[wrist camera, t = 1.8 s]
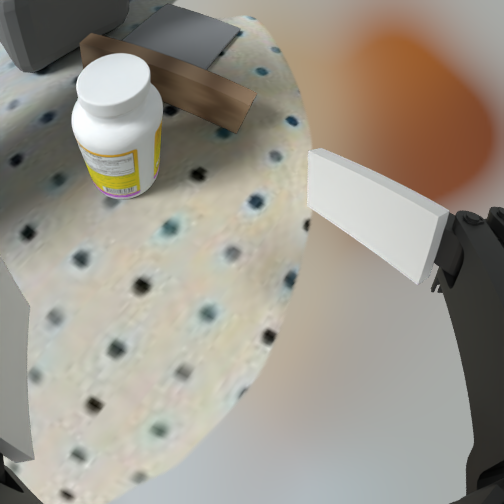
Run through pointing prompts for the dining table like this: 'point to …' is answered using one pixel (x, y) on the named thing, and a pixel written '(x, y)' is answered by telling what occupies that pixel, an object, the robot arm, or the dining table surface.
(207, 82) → the walnut rail
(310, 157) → the robot arm
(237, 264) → the dining table surface
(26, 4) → the alarm clock
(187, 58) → the rubber mat
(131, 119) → the supplement bottle
